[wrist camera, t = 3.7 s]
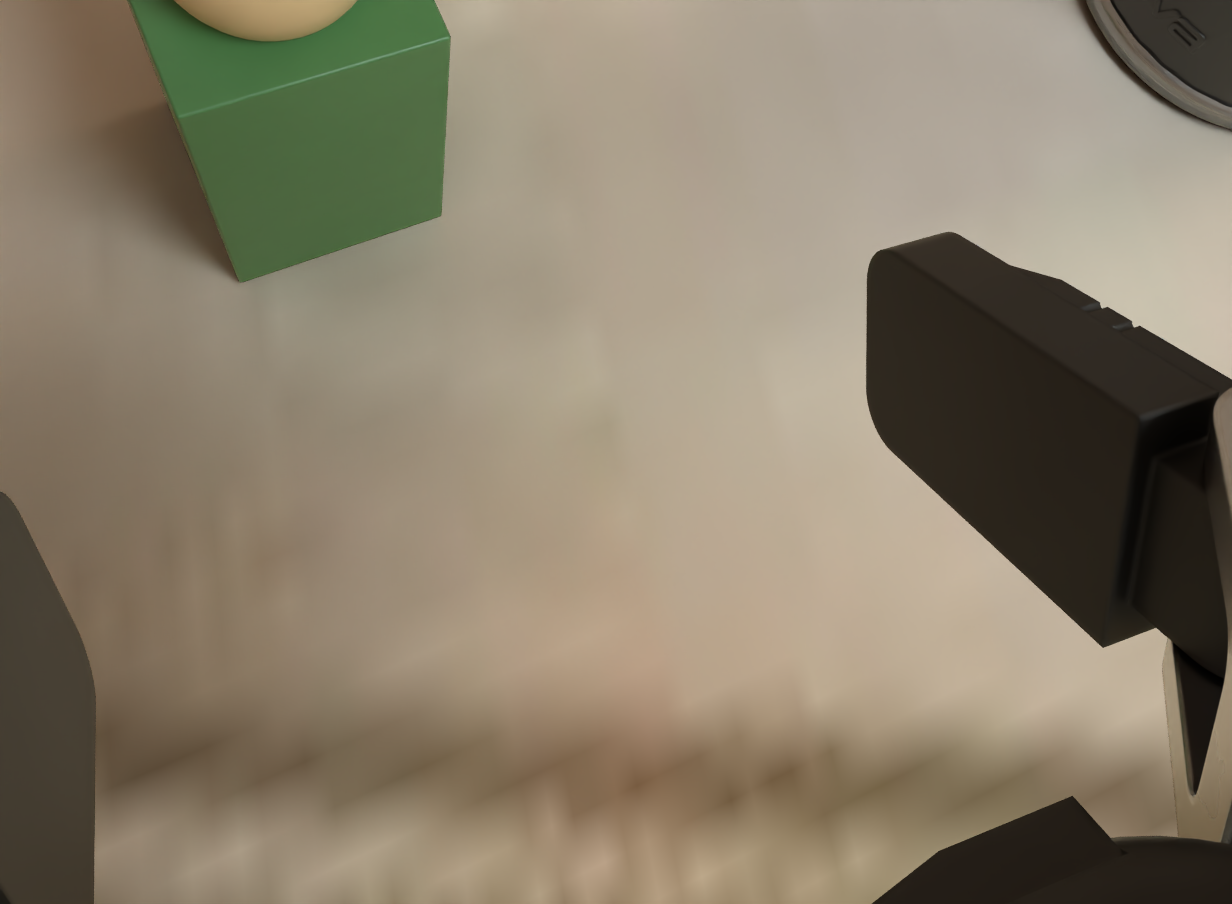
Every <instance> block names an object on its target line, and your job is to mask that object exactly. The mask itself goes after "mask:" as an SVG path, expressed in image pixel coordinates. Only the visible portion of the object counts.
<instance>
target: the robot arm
mask: <svg viewBox="0 0 1232 904" xmlns="http://www.w3.org/2000/svg"><path fill="white" fill-rule="evenodd" d="M1086 2H1087V5H1088V7H1089V9H1090V11H1091V13H1092V15H1093V17H1094V19H1095V21H1096V23H1097V25H1098V26H1099V28H1100V30H1101V31H1102V33H1103V35H1104V36H1105V38H1106V39H1107V41H1108V42H1109V43H1110V45H1111V46H1112V48H1113V49H1114V50H1115V52H1116V53H1117V54H1118V55H1119V56H1120V58H1121V59H1122V60H1123V61H1124V62H1125V63H1126V65H1127V66H1128V67H1129V68H1130V69H1131V70H1132V71H1133V72H1134V73H1135V74H1136V75H1137V76H1138V77H1139V78H1140V79H1142V80H1143V81H1144V82H1145V83H1146V84H1147V85H1149V86H1150V87H1151V88H1152V89H1153V90H1155V91H1156V92H1157V93H1159V94H1160V95H1161V96H1163V97H1164V98H1166V99H1167V100H1168V101H1170V102H1172V103H1173V104H1175V105H1177V106H1178V107H1180V108H1181V109H1183V110H1185V111H1187V112H1189V113H1191V114H1193V115H1195V116H1197V117H1199V118H1201V119H1204V120H1206V121H1209V122H1211V123H1214V124H1216V125H1219V126H1223V127H1226V128H1229V129H1232V0H1086ZM866 392H867V401H868V406H869V411H870V414H871V417H872V420H873V423H874V425H875V428H876V430H877V432H878V434H879V435H880V437H881V439H882V440H883V442H884V443H885V445H886V446H887V447H888V448H889V449H890V450H891V451H892V452H893V453H894V454H895V455H896V456H897V457H898V458H899V459H900V460H901V461H903V462H904V463H905V464H906V465H907V466H908V467H909V468H910V469H911V470H912V471H913V472H914V473H915V474H916V475H918V476H919V477H920V478H921V479H922V480H923V481H924V482H925V483H926V484H927V485H928V486H929V487H930V488H932V489H933V490H934V491H935V492H936V493H937V494H938V495H939V496H940V497H941V498H942V499H943V500H944V501H946V502H947V503H948V504H949V505H950V506H951V507H952V508H953V509H954V510H955V511H956V512H957V513H958V514H960V515H961V516H962V517H963V518H964V519H965V520H966V521H967V522H968V523H969V524H970V525H971V526H972V527H974V528H975V529H976V530H977V531H978V532H979V533H980V534H981V535H982V536H983V537H984V538H985V539H986V540H988V541H989V542H990V543H991V544H992V545H993V546H994V547H995V548H996V549H997V550H998V551H999V552H1000V553H1002V554H1003V555H1004V556H1005V557H1006V558H1007V559H1008V560H1009V561H1010V562H1011V563H1012V564H1013V565H1014V566H1016V567H1017V568H1018V569H1019V570H1020V571H1021V572H1022V573H1023V574H1024V575H1025V576H1026V577H1027V578H1028V579H1030V580H1031V581H1032V582H1033V583H1034V584H1035V585H1036V586H1037V587H1038V588H1039V589H1040V590H1041V591H1042V592H1043V593H1045V594H1046V595H1047V596H1048V597H1049V598H1050V599H1051V600H1052V601H1053V602H1054V603H1055V604H1056V605H1057V606H1059V607H1060V608H1061V609H1062V610H1063V611H1064V612H1065V613H1066V614H1067V615H1068V616H1069V617H1070V618H1071V619H1073V620H1074V621H1075V622H1076V623H1077V624H1078V625H1079V626H1080V627H1081V628H1082V629H1083V630H1084V631H1085V632H1087V633H1088V634H1089V635H1090V636H1091V637H1092V638H1093V639H1094V640H1095V641H1096V642H1097V643H1098V644H1099V645H1101V646H1102V647H1103V648H1104V647H1107V646H1109V645H1112V644H1114V643H1117V642H1120V641H1122V640H1125V639H1127V638H1130V637H1133V636H1135V635H1138V634H1141V633H1143V632H1146V631H1148V630H1151V629H1154V628H1157V629H1158V630H1160V631H1161V632H1162V633H1163V634H1164V635H1165V636H1167V637H1168V639H1167V644H1166V649H1165V654H1164V659H1163V668H1162V673H1163V683H1164V693H1165V704H1166V714H1167V725H1168V735H1169V745H1170V756H1171V766H1172V776H1173V787H1174V797H1175V807H1176V818H1177V830H1178V837H1167V836H1137V837H1116V838H1110V837H1109V836H1108V835H1107V834H1106V833H1105V831H1104V830H1103V829H1102V828H1101V827H1100V826H1099V825H1098V824H1097V823H1096V821H1095V820H1094V819H1093V818H1092V817H1091V816H1090V815H1089V814H1088V813H1087V811H1086V810H1085V809H1084V808H1083V807H1082V806H1081V805H1080V804H1079V803H1078V801H1077V800H1076V799H1075V798H1074V797H1073V796H1071V797H1069V798H1066V799H1064V800H1061V801H1059V802H1057V803H1054V804H1052V805H1049V806H1047V807H1044V808H1042V809H1040V810H1037V811H1035V812H1032V813H1030V814H1028V815H1025V816H1023V817H1020V818H1018V819H1015V820H1013V821H1011V822H1008V823H1006V824H1003V825H1001V826H999V827H996V828H994V829H991V830H989V831H986V832H984V833H982V834H979V835H977V836H974V837H972V838H969V839H967V840H965V841H962V842H960V843H957V844H955V845H953V846H950V847H948V848H945V849H943V850H940V851H938V852H937V853H936V854H935V855H933V856H932V857H931V858H929V859H928V860H927V861H926V862H924V863H923V864H922V865H921V866H919V867H918V868H917V869H915V870H914V871H913V872H912V873H910V874H909V875H908V876H907V877H905V878H904V879H903V880H901V881H900V882H899V883H898V884H896V885H895V886H894V887H893V888H891V889H890V890H889V891H887V892H886V893H885V894H884V895H882V896H881V897H880V898H879V899H877V900H876V901H875V902H873V903H872V904H1232V379H1230V378H1228V377H1226V376H1225V375H1223V374H1221V373H1220V372H1218V371H1216V370H1214V369H1213V368H1211V367H1209V366H1208V365H1206V364H1204V363H1202V362H1201V361H1199V360H1197V359H1196V358H1194V357H1192V356H1191V355H1189V354H1187V353H1185V352H1184V351H1182V350H1180V349H1179V348H1177V347H1175V346H1173V345H1172V344H1170V343H1168V342H1167V341H1165V340H1163V339H1161V338H1160V337H1158V336H1156V335H1155V334H1153V333H1151V332H1149V331H1148V330H1146V329H1144V328H1143V327H1141V326H1138V327H1135V328H1134V327H1133V325H1132V321H1131V320H1129V319H1127V318H1126V317H1124V316H1122V315H1120V314H1119V313H1117V312H1115V311H1114V310H1112V309H1110V308H1108V307H1106V308H1103V309H1102V308H1101V306H1100V302H1098V301H1096V300H1095V299H1093V298H1091V297H1090V296H1088V295H1086V294H1085V293H1083V292H1081V291H1079V290H1078V289H1076V288H1074V287H1073V286H1071V285H1069V284H1067V283H1066V282H1064V281H1062V280H1060V279H1056V278H1053V277H1049V276H1046V275H1042V274H1039V273H1035V272H1032V271H1028V270H1025V269H1021V268H1018V267H1014V266H1010V265H1008V264H1007V263H1005V262H1003V261H1002V260H1000V259H998V258H997V257H995V256H993V255H992V254H990V253H988V252H987V251H985V250H983V249H982V248H980V247H978V246H977V245H975V244H973V243H972V242H970V241H968V240H967V239H965V238H963V237H962V236H960V235H958V234H956V233H953V232H945V233H941V234H937V235H934V236H930V237H926V238H923V239H919V240H916V241H912V242H908V243H905V244H901V245H898V246H894V247H890V248H887V249H883V250H880V251H878V252H877V253H876V254H875V255H874V256H873V258H872V259H871V261H870V264H869V268H868V273H867V351H866ZM95 733H96V696H95V687H94V681H93V676H92V672H91V667H90V664H89V660H88V657H87V653H86V650H85V647H84V644H83V642H82V639H81V637H80V634H79V632H78V630H77V628H76V626H75V624H74V622H73V620H72V618H71V616H70V614H69V612H68V609H67V607H66V605H65V603H64V601H63V599H62V597H61V595H60V593H59V591H58V589H57V587H56V585H55V583H54V581H53V579H52V577H51V575H50V573H49V571H48V569H47V567H46V565H45V563H44V561H43V559H42V557H41V555H40V553H39V551H38V549H37V547H36V545H35V543H34V541H33V539H32V537H31V535H30V533H29V531H28V529H27V527H26V525H25V523H24V521H23V519H22V517H21V515H20V513H19V511H18V510H17V508H16V506H15V505H14V503H13V502H12V501H11V499H10V498H9V497H8V496H7V495H6V494H4V493H3V492H0V904H94V837H95Z"/></svg>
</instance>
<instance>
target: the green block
mask: <svg viewBox="0 0 1232 904" xmlns="http://www.w3.org/2000/svg"><path fill="white" fill-rule="evenodd" d="M127 1H128V4H129V6H130V9H131V12H132V14H133V17H134V19H135V22H136V24H137V27H138V30H139V32H140V35H141V37H142V40H143V42H144V45H145V48H146V50H147V53H148V55H149V58H150V60H151V63H152V66H153V68H154V71H155V73H156V76H157V78H158V81H159V83H160V86H161V89H162V91H163V94H164V96H165V99H166V101H167V104H168V106H169V109H170V111H171V114H172V116H173V119H174V121H175V124H176V126H177V129H178V131H179V134H180V136H181V139H182V141H183V144H184V146H185V149H186V151H187V154H188V156H189V159H190V161H191V164H192V166H193V169H194V171H195V174H196V176H197V179H198V181H199V184H200V186H201V189H202V191H203V194H204V196H205V198H206V201H207V203H208V206H209V208H210V211H211V213H212V216H213V218H214V221H215V223H216V226H217V228H218V231H219V233H220V236H221V238H222V241H223V243H224V246H225V248H226V251H227V253H228V256H229V258H230V261H231V263H232V266H233V268H234V271H235V273H236V276H237V278H238V281H239V282H245V281H248V280H251V279H254V278H257V277H260V276H263V275H266V274H269V273H272V272H275V271H278V270H281V269H284V268H287V267H290V266H293V265H296V264H298V263H301V262H304V261H307V260H310V259H313V258H316V257H319V256H322V255H325V254H328V253H331V252H334V251H337V250H340V249H343V248H346V247H349V246H352V245H355V244H358V243H361V242H364V241H367V240H370V239H373V238H376V237H379V236H382V235H385V234H388V233H391V232H394V231H397V230H400V229H403V228H406V227H409V226H412V225H415V224H418V223H421V222H424V221H427V220H430V219H433V218H436V217H439V216H441V212H442V193H443V174H444V154H445V135H446V116H447V97H448V77H449V58H450V39H451V36H450V34H449V32H448V30H447V28H446V25H445V23H444V21H443V19H442V16H441V14H440V12H439V10H438V7H437V5H436V3H435V1H434V0H127Z"/></svg>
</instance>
